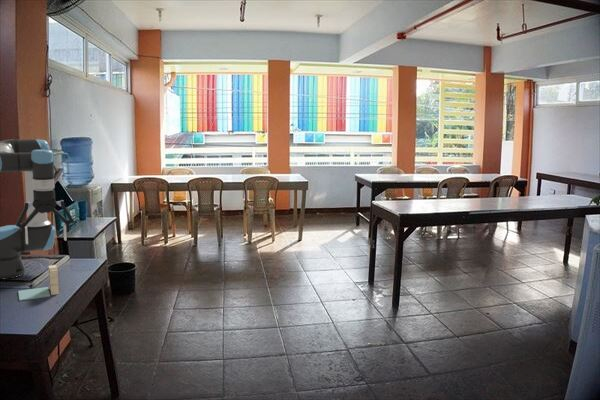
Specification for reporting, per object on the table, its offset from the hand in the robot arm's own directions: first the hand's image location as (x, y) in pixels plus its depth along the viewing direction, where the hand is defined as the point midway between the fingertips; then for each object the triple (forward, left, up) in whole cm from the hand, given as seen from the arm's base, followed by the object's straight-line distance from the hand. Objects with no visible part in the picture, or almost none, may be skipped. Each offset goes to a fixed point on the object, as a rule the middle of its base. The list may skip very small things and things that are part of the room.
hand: (46, 241), depth 189 cm
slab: (-16, +3, -28) cm, 32 cm away
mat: (-16, -5, -28) cm, 32 cm away
